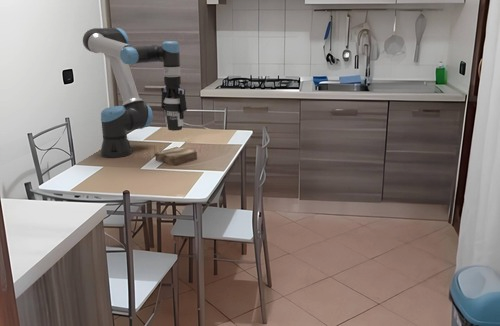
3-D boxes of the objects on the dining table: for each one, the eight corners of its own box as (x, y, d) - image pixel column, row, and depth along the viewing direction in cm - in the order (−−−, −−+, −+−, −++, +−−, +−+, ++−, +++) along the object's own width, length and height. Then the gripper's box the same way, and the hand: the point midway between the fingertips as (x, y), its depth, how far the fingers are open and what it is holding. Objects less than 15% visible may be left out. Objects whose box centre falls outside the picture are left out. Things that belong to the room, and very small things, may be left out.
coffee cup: (161, 130, 229) (159, 98, 225) (171, 126, 238) (170, 95, 234) (178, 132, 226) (177, 99, 222) (188, 127, 234) (187, 96, 230)
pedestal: (155, 160, 235) (155, 152, 234) (176, 154, 246) (176, 146, 245) (175, 165, 227) (175, 157, 226) (196, 158, 237) (196, 150, 236)
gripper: (151, 75, 228) (154, 123, 235) (181, 78, 216) (184, 129, 223) (163, 73, 234) (166, 120, 240) (193, 76, 222) (195, 126, 228)
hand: (174, 124), depth 231 cm, fingers closed on coffee cup, 7 cm apart
